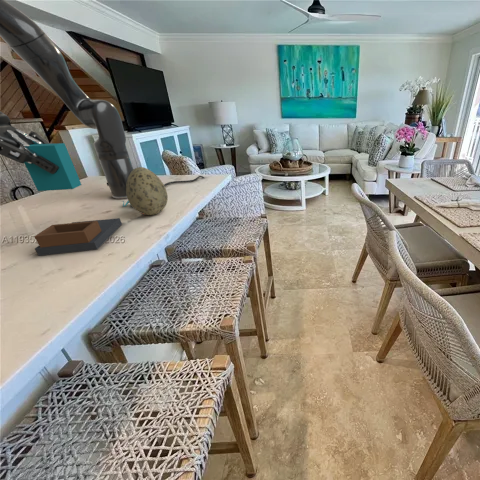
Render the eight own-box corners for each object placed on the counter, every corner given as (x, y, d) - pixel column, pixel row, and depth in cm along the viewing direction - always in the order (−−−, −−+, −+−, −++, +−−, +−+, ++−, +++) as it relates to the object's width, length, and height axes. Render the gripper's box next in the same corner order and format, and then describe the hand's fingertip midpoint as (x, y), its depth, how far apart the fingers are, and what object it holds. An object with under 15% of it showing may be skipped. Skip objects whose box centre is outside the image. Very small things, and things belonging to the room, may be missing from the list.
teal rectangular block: (48, 186, 65) (28, 144, 61) (81, 184, 67) (64, 143, 62) (37, 191, 62) (15, 146, 57) (73, 189, 63) (54, 145, 59)
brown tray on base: (74, 228, 76) (67, 212, 74) (122, 224, 79) (116, 208, 76) (38, 256, 62) (27, 237, 60) (97, 249, 65) (89, 231, 63)
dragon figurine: (113, 208, 87) (135, 197, 88) (113, 195, 91) (134, 184, 92) (129, 220, 93) (150, 209, 93) (129, 207, 97) (149, 196, 97)
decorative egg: (162, 219, 82) (148, 170, 75) (126, 220, 81) (108, 171, 74) (177, 207, 91) (165, 163, 84) (145, 208, 91) (131, 163, 84)
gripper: (-59, 96, 48) (52, 162, 56) (3, 99, 60) (86, 152, 68) (-77, 129, 49) (34, 188, 57) (-14, 124, 61) (70, 174, 70)
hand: (62, 168), depth 63 cm, fingers closed on teal rectangular block, 4 cm apart
